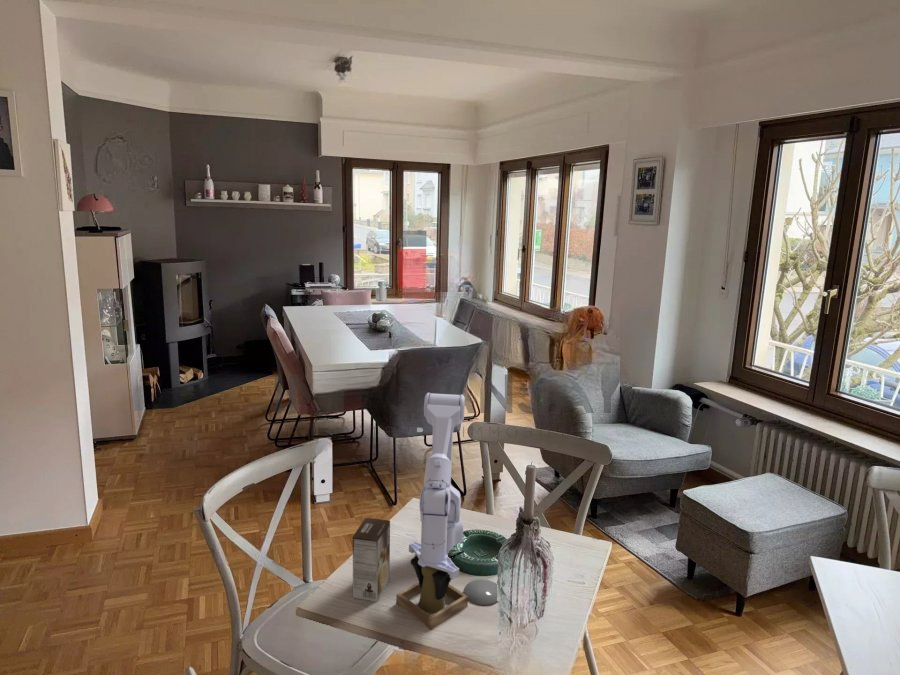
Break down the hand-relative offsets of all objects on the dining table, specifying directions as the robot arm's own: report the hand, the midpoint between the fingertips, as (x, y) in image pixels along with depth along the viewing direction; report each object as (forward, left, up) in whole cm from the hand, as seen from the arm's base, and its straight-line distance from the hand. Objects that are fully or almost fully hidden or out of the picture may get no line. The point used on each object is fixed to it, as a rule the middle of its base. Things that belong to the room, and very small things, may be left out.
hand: (432, 591), depth 141 cm
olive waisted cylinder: (0, 0, -4) cm, 4 cm away
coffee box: (+7, -14, -4) cm, 16 cm away
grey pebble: (-12, +5, -3) cm, 13 cm away
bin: (0, 0, -3) cm, 3 cm away
